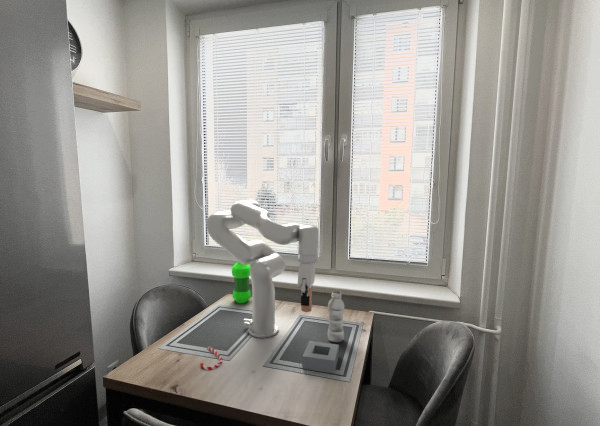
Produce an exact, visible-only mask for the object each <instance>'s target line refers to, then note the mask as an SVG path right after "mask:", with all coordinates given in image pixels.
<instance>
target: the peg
mask: <svg viewBox="0 0 600 426" xmlns="http://www.w3.org/2000/svg"><path fill="white" fill-rule="evenodd" d="M306 288H307V286H306ZM306 291H307V290H306ZM309 296H310V298H309V306H302V305H301V304H300V306H301V307H300V308H301V309H300V310H301V311H302V312H305V313H309V312H311V311H312V306H313V305H312V303H313V302H312V301H313V285H312V286H311V288H310V289H309Z"/></svg>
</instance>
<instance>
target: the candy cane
mask: <svg viewBox="0 0 600 426" xmlns="http://www.w3.org/2000/svg"><path fill="white" fill-rule="evenodd" d="M206 348H207V350H208V351H209V352H211V353H212V354H213V355H214V356H215V357H216V358H217V359H218V362H217V363H216V364H214V365H212V366H206V365H204V363H203V362H200V365H199V366H200V369H201V370H204V371H213V370H215V369H218V368H220V367H221V366H222V364H223V362H224V361H223V357H222V355H221V354H220V353H219V352H218V351H217V350H215V349H214V348H213V347H212V346H208V347H206Z"/></svg>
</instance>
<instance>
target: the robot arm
mask: <svg viewBox="0 0 600 426" xmlns="http://www.w3.org/2000/svg"><path fill="white" fill-rule="evenodd" d="M270 216H271V215H270V213H269V211H267V210H266V209H263V208H262V207H261V205H260V203H258V202H257V201H256V200H253V199H249V200H248V199H247V200H246V199H245V200H239V201H236V202H234V203H233V204H232V205H231V207H230V210H222V211H217V212H214V213H212V214H210V215H209V216H208V218H207V220H206V230H207V233H208V234H209V236H210V238H211V239H212V240H213V241H214V242H215V243H216V244H218V245H219V246H220V247H221V248H223V249H224V250H225V251H226V252H227V253H228V254H229V255H231V256H232V257H233V258H234V259H235V260H236V261H237V262H238V261H239V262H240V263H241V264H244V265H248V264H249V265H250V266H251V267H250V276H249V278H250V280H251V281H250V282H251V300H252V301H251V308H252V310H251V313H252V314H251V315H252V316H251V317H252V318H250V319H249V318H244V319H243V324H244V325H243V326H248V334H249V335H250V336H252V337H254V338H259V339H260V338H262V339H264V338H270V337H273V336H275V335H277V333H278V332H279V326H278V325H277V324H276V322H275V320H276V318H275V316H276V315H275V314H276V313H275V312H276V310H275V309H276V305H275V304H276V292H275V291H276V290H275V285H274V282H273V278H275V277H277V276H279V275H281V274H282V273H284V272H285V269H286V262H285V259H284V258H283V256H281V254H280V253H278V252H277V251H276V250H275V249H273V248H272V247H271V246H269V245H268V244H267V243H266V242H264V241H262V240H258V239H254V240H249V241H248V240H246V239H244V238H243V237H241V235H239V234H238V233H236V232H234V231H233V230H234V229H237V228H240V227H242V226H244V225H248V226H250V227H252V228H254V229H256V230H257V231H258V232H259V234H261V236H262V237H263V238H264V239H266V240H269V241H271V243H272V242H273V243H275V244H277V245H281V246H286V245H289V244H292V243H293V244H294V243H297V242H298V247H297V248H298V249H297V250H298V251H297V252H298V253H297V255H298V257H297V262H299V266H298V274H297V288H298V289H300V288H301V290H300V291H301V293H300V306H301V305H302V306H309V298H310V296H309V289H310V288H311V286H312V287H313V286H314V283H315V279H316V278H315V277H316V263H318V259H319V257H318V256H319V253H318V252H319V228H318V226H315V225H308V224H307V225H306V224H302V223H297V222H293V223H292V222H291V223H287V224H280V223H277V222H276V221H273V220H271V219H270ZM306 286H307V288H306ZM306 290H307V291H306Z"/></svg>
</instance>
